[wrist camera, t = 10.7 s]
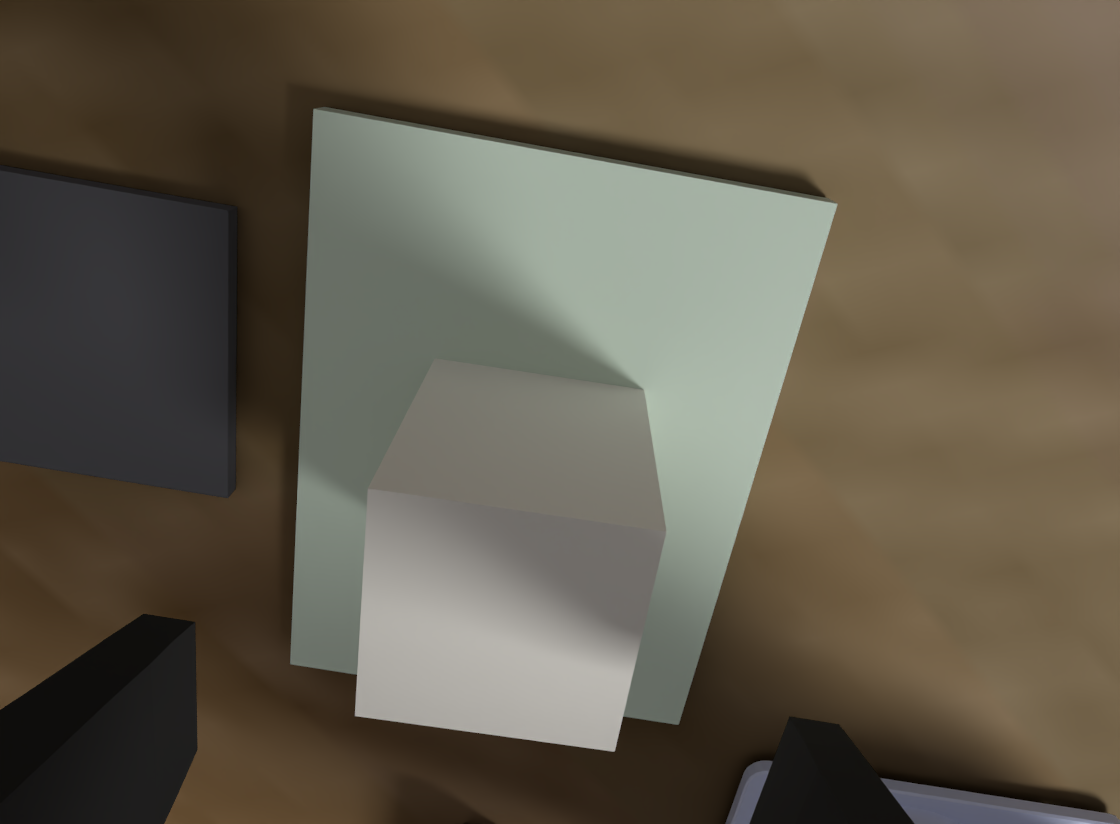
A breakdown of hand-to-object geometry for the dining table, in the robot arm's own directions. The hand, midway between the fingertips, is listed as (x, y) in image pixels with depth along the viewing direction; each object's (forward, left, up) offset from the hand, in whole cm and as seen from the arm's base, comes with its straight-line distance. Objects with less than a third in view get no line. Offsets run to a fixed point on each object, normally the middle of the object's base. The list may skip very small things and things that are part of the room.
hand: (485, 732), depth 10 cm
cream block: (0, 0, -7) cm, 7 cm away
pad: (0, 0, -8) cm, 8 cm away
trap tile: (+9, -1, -8) cm, 12 cm away
